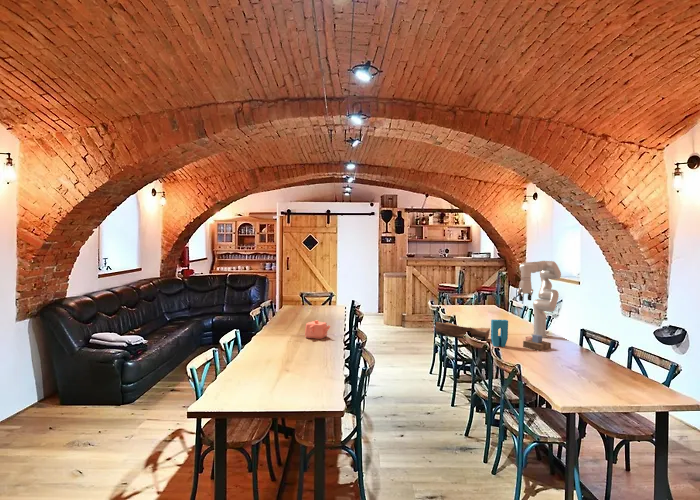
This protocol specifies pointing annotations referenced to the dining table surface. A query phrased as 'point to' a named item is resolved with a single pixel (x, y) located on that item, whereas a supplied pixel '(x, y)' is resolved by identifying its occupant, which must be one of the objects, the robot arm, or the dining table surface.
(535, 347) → the walnut base block
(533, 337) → the slate-blue cube
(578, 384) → the dining table surface
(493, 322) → the block
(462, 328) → the log
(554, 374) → the dining table surface
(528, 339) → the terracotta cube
